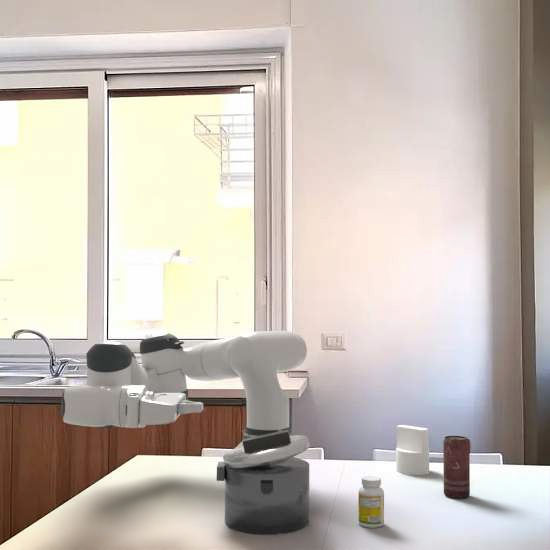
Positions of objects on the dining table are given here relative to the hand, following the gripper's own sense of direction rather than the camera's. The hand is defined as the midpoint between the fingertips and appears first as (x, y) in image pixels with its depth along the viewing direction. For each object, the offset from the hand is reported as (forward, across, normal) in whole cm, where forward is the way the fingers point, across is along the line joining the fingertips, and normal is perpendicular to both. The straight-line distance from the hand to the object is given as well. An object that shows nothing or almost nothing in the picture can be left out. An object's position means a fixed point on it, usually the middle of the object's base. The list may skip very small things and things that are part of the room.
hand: (202, 407), depth 151 cm
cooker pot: (+14, -2, -24) cm, 28 cm away
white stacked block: (+54, -46, -23) cm, 75 cm away
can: (+60, -21, -23) cm, 68 cm away
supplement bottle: (+36, +1, -24) cm, 43 cm away
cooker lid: (+14, -2, -10) cm, 17 cm away
